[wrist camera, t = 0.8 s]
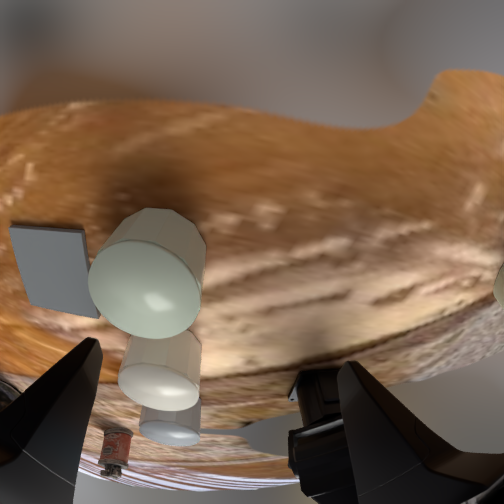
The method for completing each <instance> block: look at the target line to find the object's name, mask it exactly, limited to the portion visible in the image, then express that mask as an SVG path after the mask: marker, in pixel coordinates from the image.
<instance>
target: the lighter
mask: <svg viewBox="0 0 504 504" xmlns="http://www.w3.org/2000/svg"><path fill="white" fill-rule="evenodd" d="M132 437H133V432H132V431H130V430H128V429H126V428H113V429H108V430H106V431H105V432H104V441H103V446H102V451H101V456H100V460H99V461H98V464H99V465H101V466H103V467H105V470H101V473H100V475H101V476H103V477H109V478H113V479H117V478H118V477H121V475H122V472H121V469H127V468H128V464H127V463H128V456H129V450H130V443H131V438H132Z"/></svg>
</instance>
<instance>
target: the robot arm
mask: <svg viewBox="0 0 504 504" xmlns="http://www.w3.org/2000/svg"><path fill="white" fill-rule="evenodd" d="M102 360H103V354H102V350H101V347H100V343H99V341H98V339H95V338H91V337H87V338H85V339H84V340H83V341H82V342H81V343H79V344H78V345H77V346H76V347H75V348H73V349H72V350H71V351H70V352H69V353H67V354H66V355H65V356H64V357H63V358H62V359H60V360H59V361H58V362H57V363H56V364H55V365H53V366H52V367H51V368H50V369H49V370H48V371H46V372H45V373H44V374H43V375H42V376H41V377H40V378H38V379H37V380H36V381H35V382H34V383H33V384H32V385H31V386H29V387H28V388H27V389H26V390H25V391H24V392H23V393H22V394H20V395H19V396H18V397H17V398H16V399H15V400H14V401H12V402H11V403H10V404H9V405H8V406H6V407H5V408H4V409H3V410H1V411H0V504H73V497H74V490H75V483H76V477H77V472H78V467H79V461H80V457H81V452H82V447H83V443H84V438H85V434H86V430H87V426H88V422H89V418H90V415H91V411H92V407H93V404H94V400H95V396H96V392H97V386H98V381H99V375H100V370H101V365H102ZM288 401H290V402H293V401H298V403H299V408H300V413H301V417H302V422H303V428H299V429H296V430H290V431H289V437H288V451H289V452H288V453H289V460H288V467H289V468H290V469H292V471H293V473H294V475H295V476H296V477H297V478H299V480H300V485H301V491H302V492H303V493H304V494H305V495H306V496H307V497H311V498H312V499H314V500H315V501H316V502H317V503H318V504H504V453H502V454H488V453H470V452H463V451H460V450H458V449H456V448H455V447H453V446H452V445H450V444H449V443H448V442H446V441H445V440H444V439H442V438H441V437H440V436H438V435H437V434H436V433H434V432H433V431H432V430H431V429H429V428H428V427H427V426H426V425H425V424H424V423H423V422H422V421H420V420H419V419H418V418H417V417H416V416H415V415H414V414H413V413H412V412H411V411H410V410H408V408H406V407H405V406H404V405H403V404H402V403H401V402H400V401H399V400H398V399H397V398H396V397H395V396H394V395H393V394H391V393H390V392H389V391H388V390H387V389H386V388H385V387H384V386H383V385H382V384H381V383H380V382H379V381H378V380H377V379H376V378H375V377H373V376H372V375H371V374H370V373H369V372H368V371H367V370H366V369H365V368H364V367H363V366H362V365H361V364H360V363H359V362H357V361H355V360H350V361H346V362H345V363H344V365H343V366H342V368H341V369H330V370H313V371H302V372H300V373H299V375H298V377H297V379H296V381H295V384H294V386H293V388H292V390H291V392H290V394H289V396H288Z"/></svg>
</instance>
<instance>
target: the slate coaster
mask: <svg viewBox="0 0 504 504" xmlns="http://www.w3.org/2000/svg"><path fill="white" fill-rule="evenodd" d="M9 232H10V237H11V241H12V245H13V249H14V253H15V257H16V261H17V264H18V268H19V271H20V274H21V278H22V281H23V284H24V287H25V290H26V293H27V295H28V298H29V301H30V303H31V305H34V306H38V307H42V308H47V309H51V310H56V311H60V312H65V313H70V314H75V315H80V316H85V317H90V318H96V319H99V317H100V311H99V310H98V309H97V307H96V306H95V304H94V302H93V300H92V298H91V295H90V292H89V287H88V275H89V270H90V264H89V258H88V252H87V246H86V239H85V231H84V230H76V229H62V228H49V227H35V226H21V225H11V226H10V227H9Z"/></svg>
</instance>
